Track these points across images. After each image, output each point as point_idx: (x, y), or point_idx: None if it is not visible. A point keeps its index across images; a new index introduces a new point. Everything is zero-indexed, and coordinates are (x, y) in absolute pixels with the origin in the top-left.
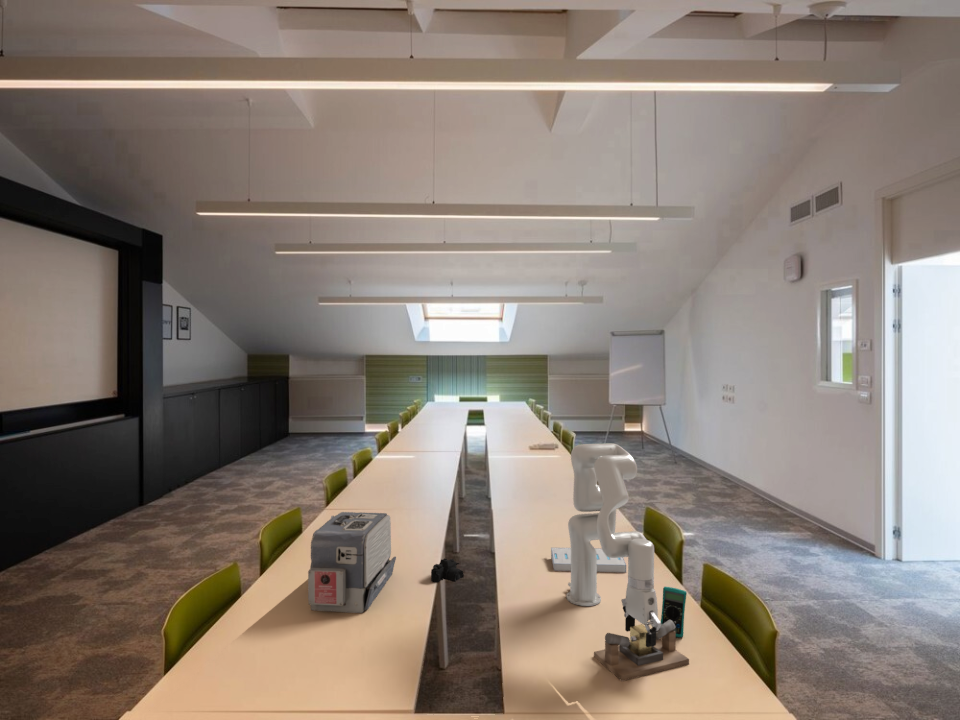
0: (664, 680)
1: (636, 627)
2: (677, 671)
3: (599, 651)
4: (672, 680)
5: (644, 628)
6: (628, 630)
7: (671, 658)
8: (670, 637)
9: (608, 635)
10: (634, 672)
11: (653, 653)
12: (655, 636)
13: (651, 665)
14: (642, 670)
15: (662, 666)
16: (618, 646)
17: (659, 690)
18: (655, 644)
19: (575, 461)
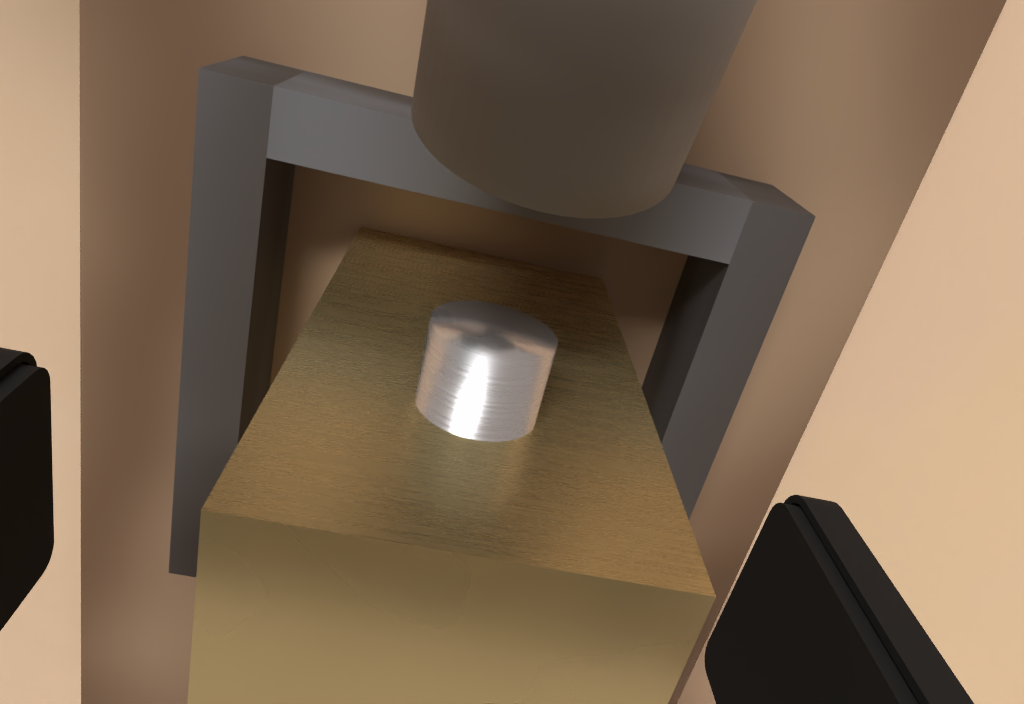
0: (937, 450)
1: None
2: (991, 138)
3: (101, 686)
4: (1017, 378)
5: (479, 653)
6: (42, 540)
7: (859, 14)
8: None
9: None
10: (678, 695)
11: (697, 368)
12: (927, 659)
13: (733, 450)
14: (716, 608)
15: (842, 326)
16: (87, 430)
17: (973, 620)
18: (834, 512)
19: None
